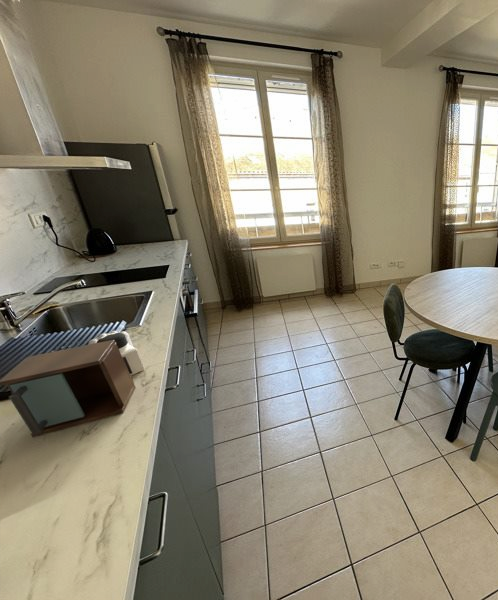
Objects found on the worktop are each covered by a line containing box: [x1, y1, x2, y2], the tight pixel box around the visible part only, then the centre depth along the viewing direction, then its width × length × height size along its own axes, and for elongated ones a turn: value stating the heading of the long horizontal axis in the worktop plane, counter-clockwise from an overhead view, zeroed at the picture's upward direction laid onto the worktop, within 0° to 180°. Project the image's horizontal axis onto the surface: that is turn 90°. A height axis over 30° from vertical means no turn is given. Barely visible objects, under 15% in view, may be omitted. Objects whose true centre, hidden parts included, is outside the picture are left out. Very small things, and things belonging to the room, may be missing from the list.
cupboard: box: [0, 340, 137, 438], centre depth 84 cm, size 18×12×16 cm, turn 114°
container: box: [97, 333, 145, 377], centre depth 100 cm, size 8×8×13 cm
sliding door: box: [8, 373, 85, 437], centre depth 76 cm, size 9×5×13 cm, turn 114°
